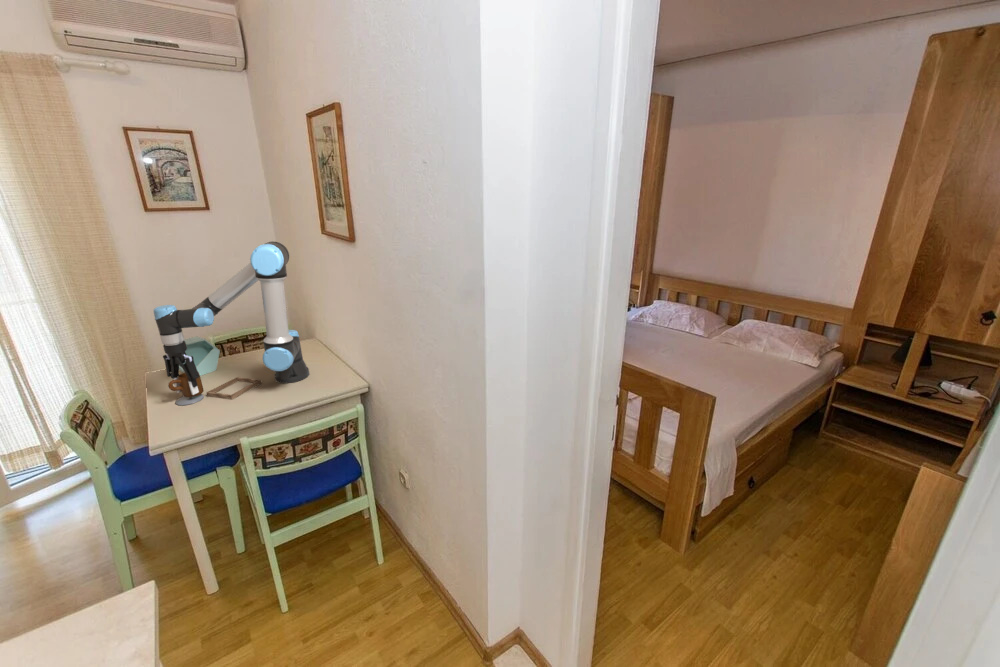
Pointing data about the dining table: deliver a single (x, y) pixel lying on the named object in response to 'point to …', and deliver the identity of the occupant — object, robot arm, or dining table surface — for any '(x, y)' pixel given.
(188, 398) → the coaster
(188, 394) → the mug
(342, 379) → the dining table surface
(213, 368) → the planter
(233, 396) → the brown wooden frame
